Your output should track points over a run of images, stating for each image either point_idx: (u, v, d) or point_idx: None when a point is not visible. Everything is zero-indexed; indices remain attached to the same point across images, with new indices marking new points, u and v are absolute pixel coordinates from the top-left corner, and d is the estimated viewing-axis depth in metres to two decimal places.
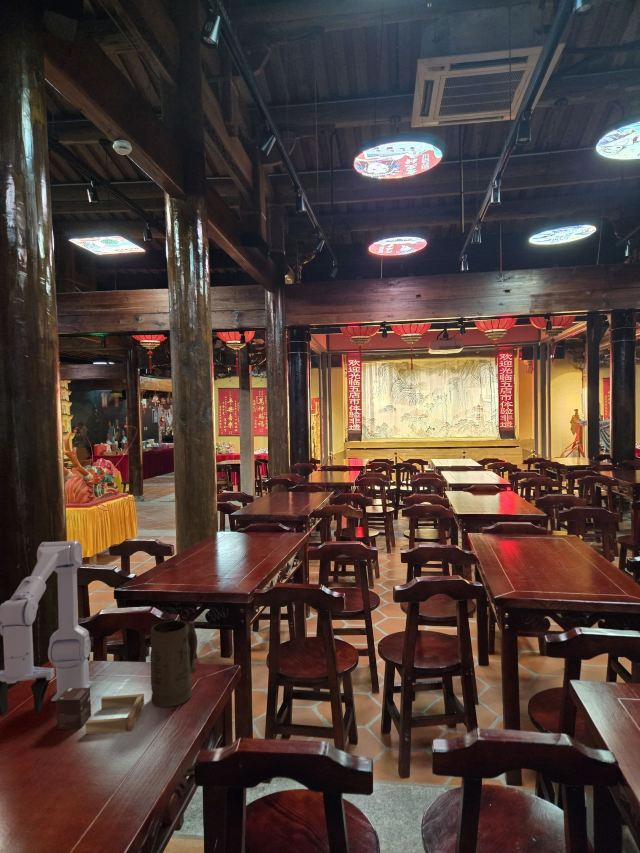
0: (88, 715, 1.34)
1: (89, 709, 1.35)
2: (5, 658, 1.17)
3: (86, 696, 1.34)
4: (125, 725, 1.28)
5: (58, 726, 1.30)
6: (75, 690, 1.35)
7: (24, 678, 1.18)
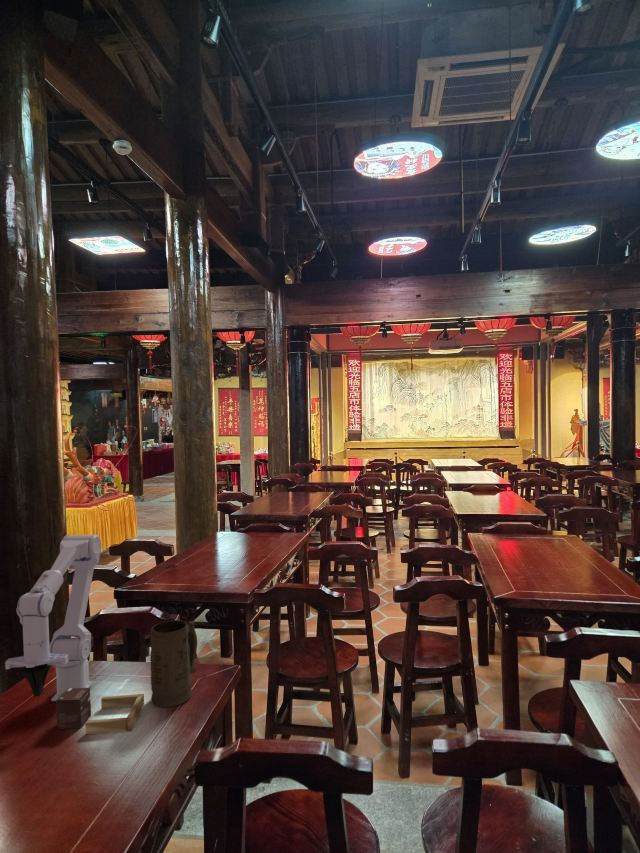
0: (88, 715, 1.34)
1: (89, 709, 1.35)
2: (24, 645, 1.30)
3: (86, 696, 1.34)
4: (125, 725, 1.28)
5: (58, 726, 1.30)
6: (75, 690, 1.35)
7: (41, 663, 1.30)
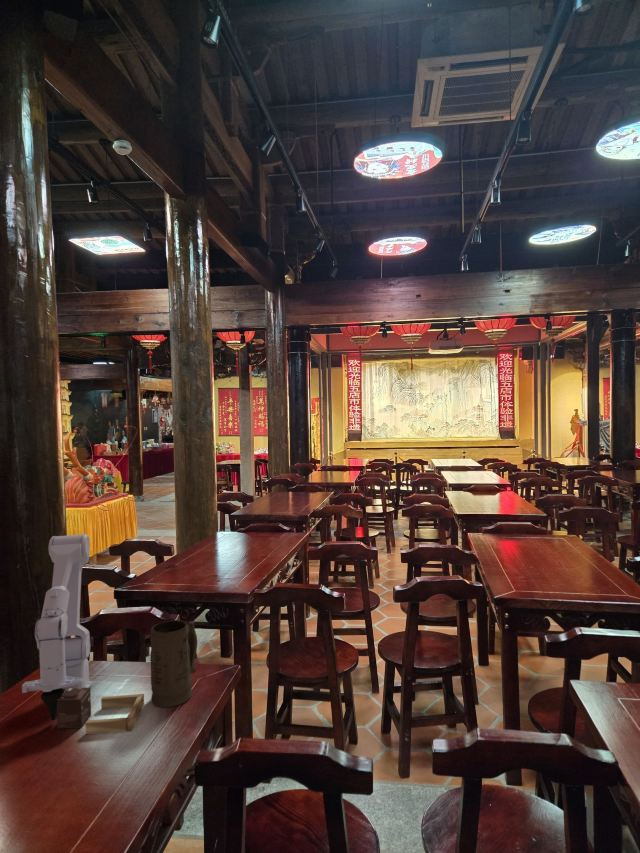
0: (88, 715, 1.34)
1: (89, 709, 1.35)
2: (41, 669, 1.31)
3: (87, 696, 1.34)
4: (125, 725, 1.28)
5: (58, 726, 1.30)
6: (76, 690, 1.35)
7: (58, 687, 1.31)
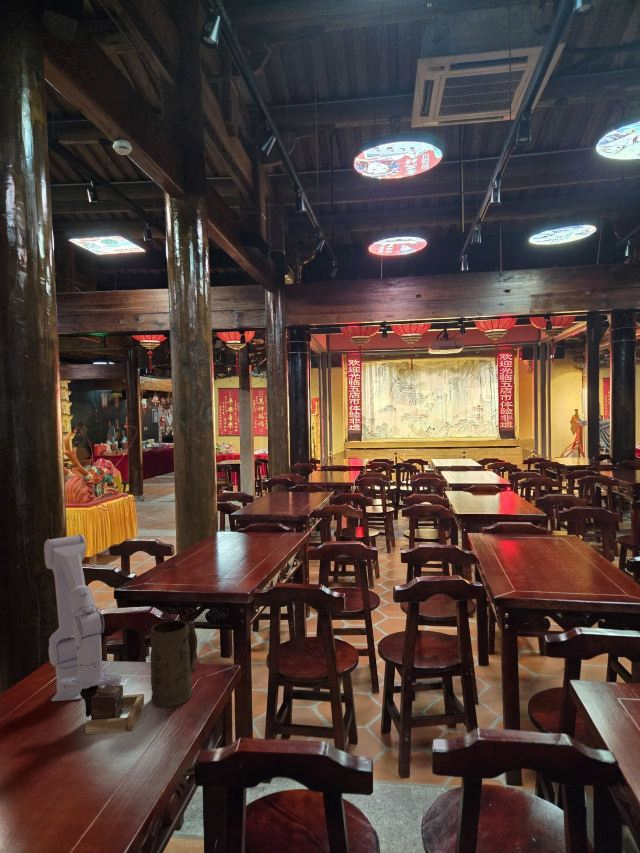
0: (120, 712, 1.35)
1: (121, 707, 1.36)
2: (79, 666, 1.31)
3: (120, 694, 1.35)
4: (125, 725, 1.28)
5: None
6: (109, 687, 1.35)
7: (95, 684, 1.31)
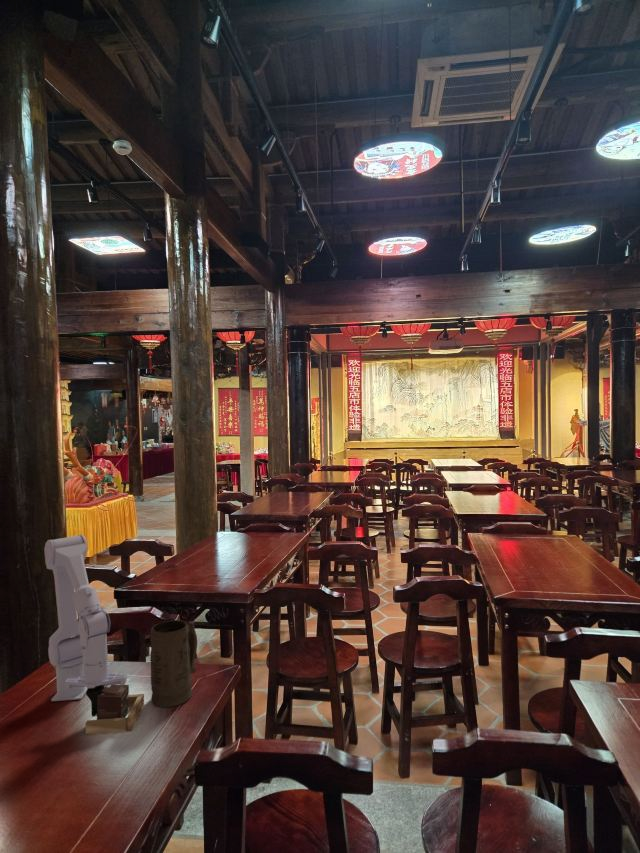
0: (126, 712, 1.35)
1: (127, 707, 1.36)
2: (84, 665, 1.31)
3: (126, 693, 1.35)
4: (125, 725, 1.28)
5: None
6: (115, 687, 1.35)
7: (101, 683, 1.31)
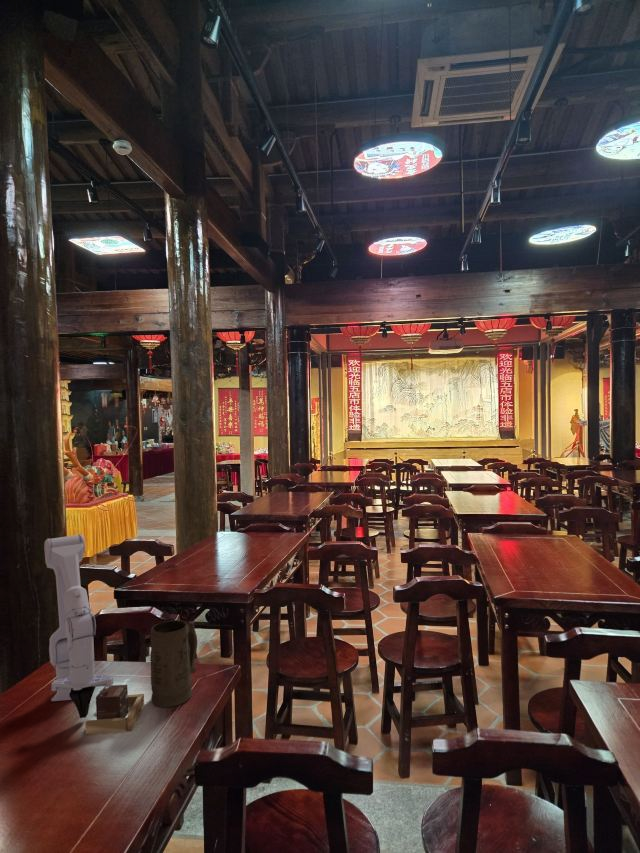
0: (126, 712, 1.35)
1: (126, 706, 1.36)
2: (71, 667, 1.31)
3: (124, 693, 1.35)
4: (125, 725, 1.28)
5: None
6: (113, 687, 1.36)
7: (88, 685, 1.31)
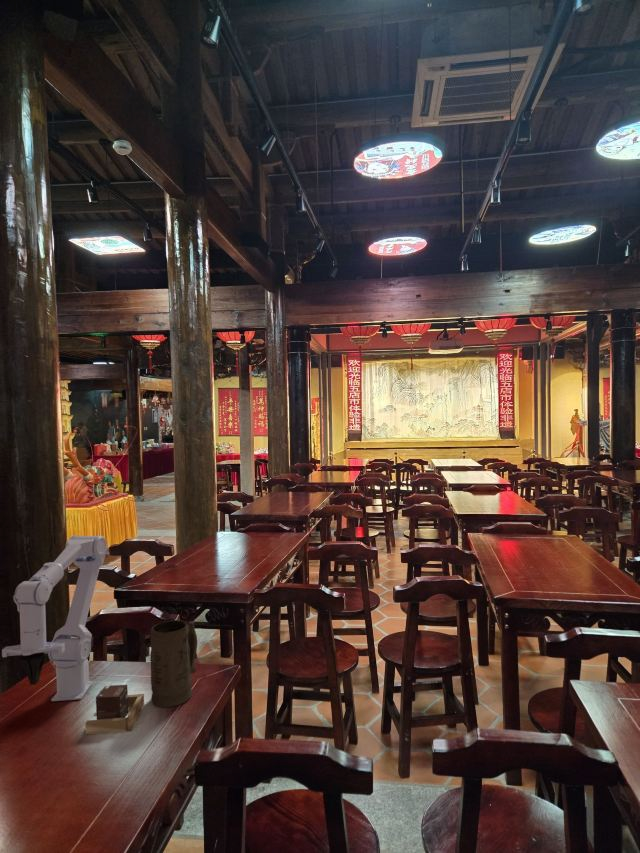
0: (126, 712, 1.35)
1: (126, 706, 1.36)
2: (21, 633, 1.31)
3: (125, 693, 1.35)
4: (125, 725, 1.28)
5: None
6: (113, 687, 1.36)
7: (38, 651, 1.31)
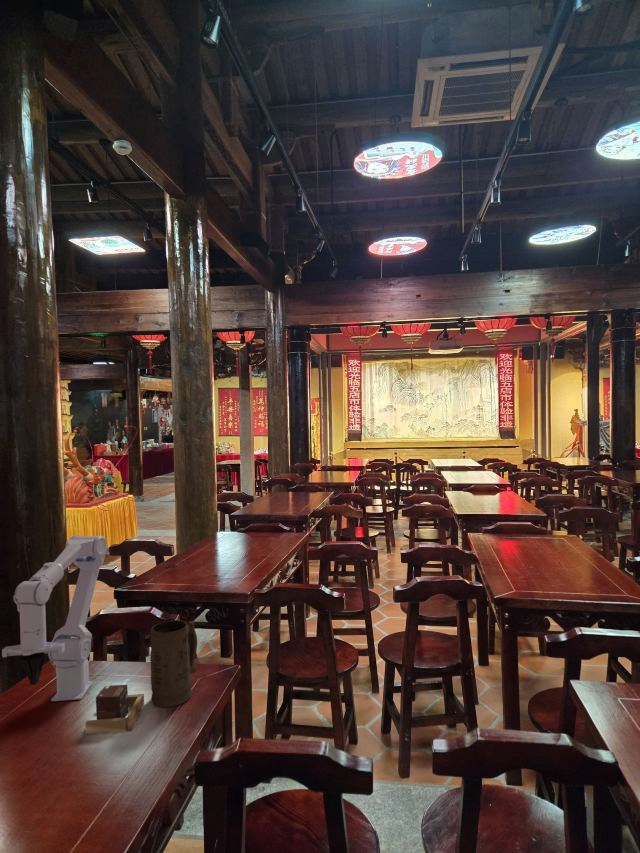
0: (126, 712, 1.35)
1: (126, 706, 1.36)
2: (21, 633, 1.31)
3: (125, 693, 1.35)
4: (125, 725, 1.28)
5: None
6: (113, 687, 1.36)
7: (38, 651, 1.31)
